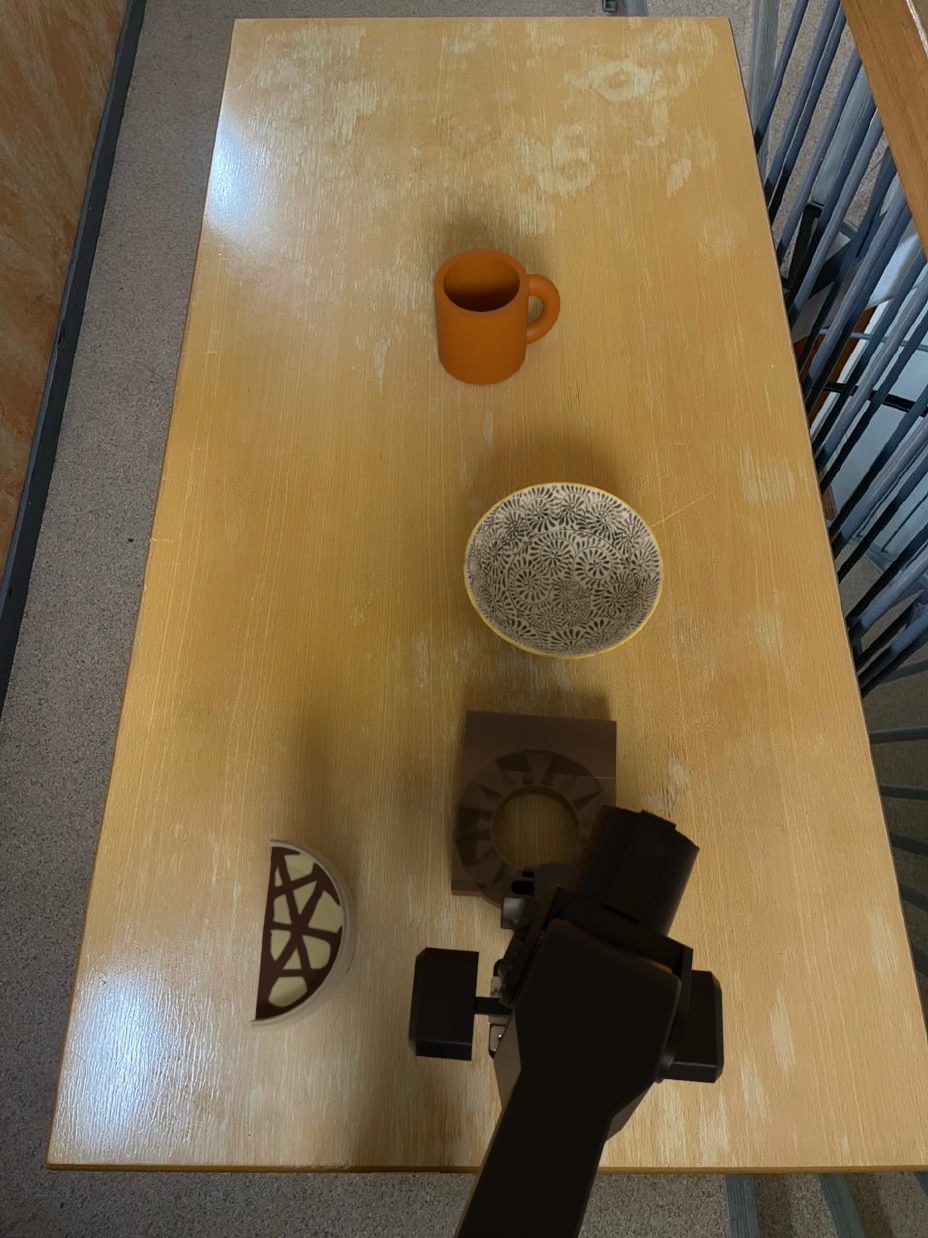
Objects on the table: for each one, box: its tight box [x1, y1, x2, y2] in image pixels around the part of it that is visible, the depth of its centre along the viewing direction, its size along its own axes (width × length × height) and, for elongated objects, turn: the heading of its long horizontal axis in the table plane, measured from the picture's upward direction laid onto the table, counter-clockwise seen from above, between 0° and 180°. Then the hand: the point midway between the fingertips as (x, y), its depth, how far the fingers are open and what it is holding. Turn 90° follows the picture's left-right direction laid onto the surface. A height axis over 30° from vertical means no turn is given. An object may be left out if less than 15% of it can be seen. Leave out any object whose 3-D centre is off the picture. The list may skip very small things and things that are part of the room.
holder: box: [450, 710, 618, 910], centre depth 71 cm, size 15×12×2 cm
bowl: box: [462, 481, 665, 660], centre depth 77 cm, size 16×16×8 cm
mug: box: [432, 247, 561, 386], centre depth 88 cm, size 9×12×9 cm
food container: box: [248, 838, 358, 1034], centre depth 64 cm, size 12×6×10 cm, turn 179°
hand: (555, 1016), depth 64 cm, fingers closed
